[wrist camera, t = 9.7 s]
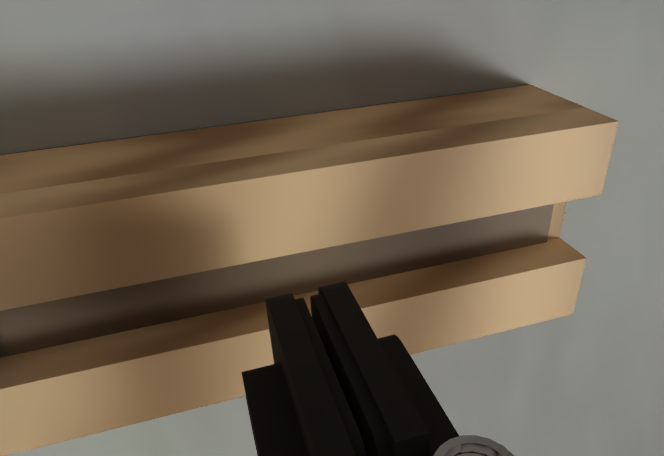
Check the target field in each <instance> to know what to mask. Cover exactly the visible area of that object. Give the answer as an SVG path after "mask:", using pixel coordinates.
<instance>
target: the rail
mask: <svg viewBox="0 0 664 456" xmlns="http://www.w3.org/2000/svg"><path fill="white" fill-rule="evenodd" d="M618 122H619V121H617V120H614V119H612V118H610V117H607V116H605V115H602V114H600V113H598V112H595V111H593V110H590V109H588V108H586V107H583V106H581V105H578V104H576V103H574V102H571V101H569V100H566V99H564V98H562V97H559V96H557V95H554V94H552V93H550V92H547V91H545V90H542V89H540V88H538V87H535V86H533V85H526V86H518V87H510V88H503V89H495V90H488V91H480V92H473V93H465V94H458V95H450V96H443V97H435V98H428V99H420V100H413V101H405V102H398V103H390V104H383V105H375V106H368V107H360V108H352V109H345V110H337V111H330V112H322V113H315V114H307V115H300V116H292V117H285V118H277V119H270V120H262V121H255V122H247V123H240V124H232V125H225V126H217V127H210V128H202V129H194V130H187V131H179V132H172V133H164V134H157V135H149V136H142V137H134V138H127V139H119V140H112V141H104V142H97V143H89V144H82V145H74V146H67V147H59V148H52V149H44V150H36V151H29V152H21V153H14V154H6V155H0V456H7V455H11V454H15V453H19V452H23V451H27V450H31V449H35V448H39V447H43V446H47V445H51V444H55V443H59V442H63V441H67V440H71V439H75V438H79V437H83V436H87V435H91V434H95V433H99V432H103V431H107V430H111V429H115V428H119V427H123V426H127V425H131V424H135V423H139V422H143V421H147V420H151V419H155V418H159V417H163V416H167V415H171V414H175V413H179V412H183V411H187V410H191V409H195V408H199V407H203V406H207V405H211V404H215V403H219V402H223V401H227V400H231V399H235V398H239V397H243V396H246V394H245V389H244V384H243V378H242V372H244V371H248V370H252V369H256V368H260V367H264V366H268V365H272V364H274V360H273V353H272V346H271V339H270V332H269V325H268V318H267V311H266V303H265V299H266V298H270V297H275V296H279V295H284V294H289V293H292V294H293V296H294V299H299V298H304V300H305V302H306V304H307V307H308V309H309V312H310V314H311V303H310V297H311V296H312V295H317V294H318V289H319V287H321V286H325V285H330V284H334V283H339V282H346V283H347V285H348V286H349V288H350V290H351V292H352V293H353V295H354V297H355V299H356V301H357V302H358V304H359V306H360V308H361V310H362V311H363V313H364V315H365V317H366V319H367V320H368V322H369V324H370V326H371V328H372V329H373V331H374V333H375V335H376V337H377V338H382V337H386V336H390V335H394V334H395V335H396V336H398V338H399V339H400V340H401V342H402V343H403V345H404V346H405V348H406V350H407V351H408V353H409V355H411V354H415V353H419V352H423V351H427V350H431V349H435V348H439V347H443V346H447V345H451V344H455V343H459V342H463V341H467V340H471V339H475V338H479V337H483V336H487V335H491V334H495V333H499V332H503V331H507V330H511V329H515V328H519V327H523V326H527V325H531V324H535V323H539V322H543V321H547V320H551V319H555V318H559V317H563V316H567V315H571V314H573V313H574V309H575V305H576V300H577V296H578V292H579V288H580V283H581V279H582V275H583V271H584V266H585V262H586V257H584V256H583V255H582V254H580V253H579V252H578V251H576V250H575V249H574V248H572V247H571V246H570V245H568V244H567V243H566V242H564V241H563V240H562V239H561V238H559V236H560V231H561V226H562V221H563V216H564V211H565V206H566V201H571V200H576V199H581V198H586V197H591V196H597V195H601V194H602V190H603V186H604V182H605V177H606V173H607V169H608V165H609V160H610V156H611V152H612V148H613V143H614V139H615V135H616V131H617V126H618ZM311 316H312V314H311Z"/></svg>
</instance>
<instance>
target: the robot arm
mask: <svg viewBox="0 0 664 456" xmlns="http://www.w3.org/2000/svg"><path fill="white" fill-rule="evenodd" d="M265 303H266V311H267V318H268V325H269V332H270V339H271V346H272V353H273V360H274V364H272V365H268V366H264V367H260V368H256V369H252V370H248V371H244V372H242V378H243V384H244V389H245V394H246V400H247V405H248V410H249V415H250V420H251V425H252V430H253V435H254V440H255V445H256V450H257V455H258V456H514V455H513V454H512V453H511V452H510V451H508V450H507V449H506V448H505V447H504V446H503V445H501V444H499V443H497V442H495V441H493V440H491V439H488V438H484V437H480V436H476V435H462V436H459V435H458V433H457V432H456V430H455V428H454V427H453V425H452V423H451V422H450V420H449V419H448V417H447V415H446V414H445V412H444V410H443V409H442V407H441V405H440V404H439V402H438V401H437V399H436V397H435V396H434V394H433V392H432V391H431V389H430V387H429V386H428V384H427V382H426V381H425V379H424V378H423V376H422V374H421V373H420V371H419V369H418V368H417V366H416V364H415V363H414V361H413V360H412V358H411V356H410V355H409V353H408V351H407V350H406V348H405V346H404V345H403V343H402V342H401V340H400V339H399V338H398V336H396V335H395V334H394V335H390V336H386V337H382V338H377V337H376V335H375V333H374V331H373V329H372V328H371V326H370V324H369V322H368V320H367V319H366V317H365V315H364V313H363V311H362V310H361V308H360V306H359V304H358V302H357V301H356V299H355V297H354V295H353V293H352V292H351V290H350V288H349V286H348V285H347V283H346V282H339V283H334V284H330V285H325V286H321V287H319V289H318V294H317V295H312V296H311V297H310V303H311V314H312V316H311V314H310V312H309V309H308V307H307V304H306V302H305V300H304V298H299V299H294V296H293V294H292V293H289V294H284V295H279V296H275V297H270V298H266V299H265Z"/></svg>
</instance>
